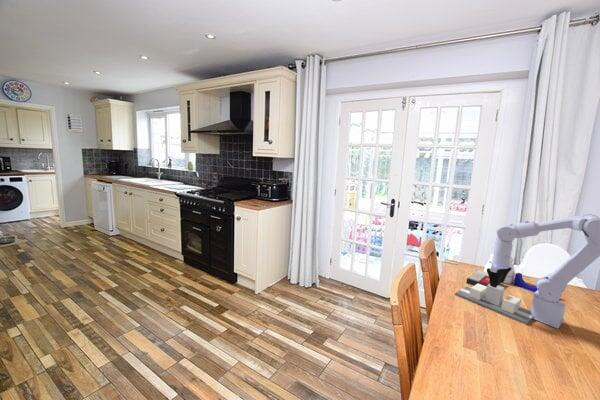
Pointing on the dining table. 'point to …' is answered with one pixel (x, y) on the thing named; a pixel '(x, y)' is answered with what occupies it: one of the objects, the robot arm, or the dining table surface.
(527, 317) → the rail board
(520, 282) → the blue shoe
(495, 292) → the block
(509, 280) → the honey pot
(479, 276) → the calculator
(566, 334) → the dining table surface
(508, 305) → the mounted modules
